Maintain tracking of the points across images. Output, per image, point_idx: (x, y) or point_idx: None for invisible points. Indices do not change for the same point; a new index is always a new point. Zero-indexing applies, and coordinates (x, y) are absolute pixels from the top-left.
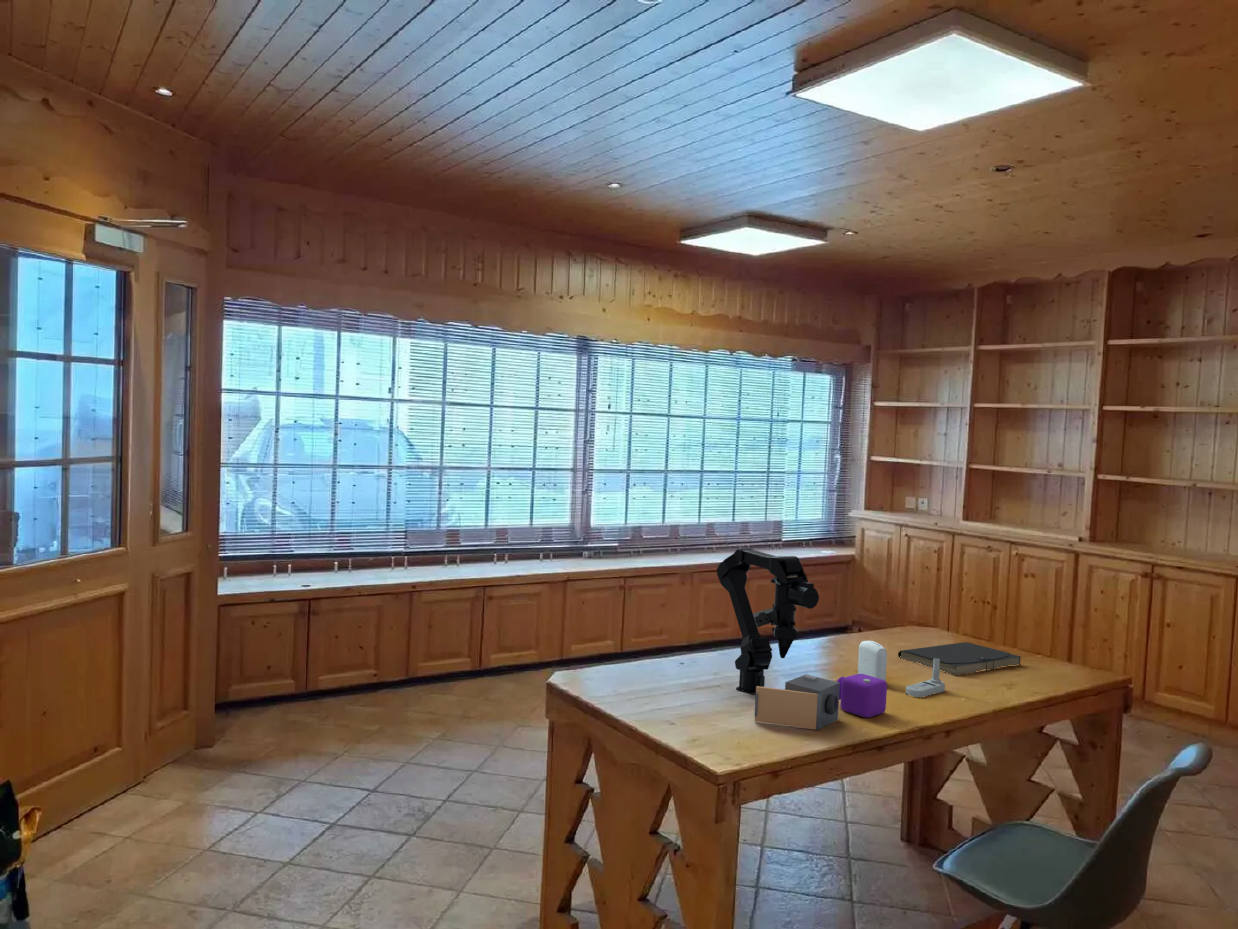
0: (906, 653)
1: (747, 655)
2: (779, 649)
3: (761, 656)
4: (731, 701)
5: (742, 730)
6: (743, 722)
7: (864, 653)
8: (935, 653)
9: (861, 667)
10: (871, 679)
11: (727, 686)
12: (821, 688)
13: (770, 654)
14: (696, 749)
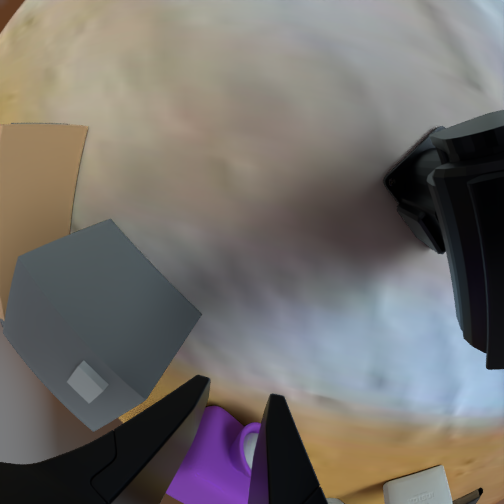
0: (470, 500)
1: (481, 128)
2: (137, 416)
3: (463, 255)
4: (288, 64)
5: (47, 97)
6: (86, 95)
7: None
8: None
9: (434, 485)
10: (182, 498)
11: (472, 112)
12: (19, 351)
13: (474, 337)
14: (6, 38)
